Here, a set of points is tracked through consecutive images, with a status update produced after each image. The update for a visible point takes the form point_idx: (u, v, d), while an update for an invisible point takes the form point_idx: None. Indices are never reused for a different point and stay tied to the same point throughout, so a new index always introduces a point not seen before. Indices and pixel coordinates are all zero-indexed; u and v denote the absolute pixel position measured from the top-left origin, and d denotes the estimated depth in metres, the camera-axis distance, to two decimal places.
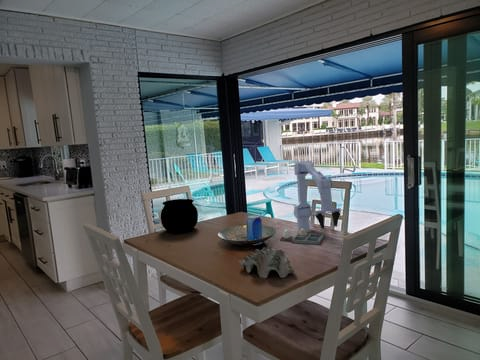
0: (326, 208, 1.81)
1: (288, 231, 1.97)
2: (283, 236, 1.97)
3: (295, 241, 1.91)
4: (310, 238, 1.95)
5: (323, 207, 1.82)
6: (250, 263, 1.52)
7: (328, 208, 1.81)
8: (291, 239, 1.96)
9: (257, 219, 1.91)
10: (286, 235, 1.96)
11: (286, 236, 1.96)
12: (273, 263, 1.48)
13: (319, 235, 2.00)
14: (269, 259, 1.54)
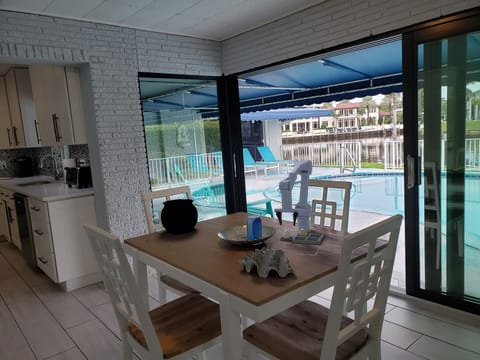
0: (283, 208, 1.94)
1: (288, 231, 1.97)
2: (283, 236, 1.97)
3: (295, 241, 1.91)
4: (310, 238, 1.95)
5: None
6: (250, 263, 1.52)
7: (284, 208, 1.93)
8: (291, 239, 1.96)
9: (257, 219, 1.91)
10: (286, 235, 1.96)
11: (286, 236, 1.96)
12: (273, 263, 1.48)
13: (319, 235, 2.00)
14: (269, 259, 1.54)
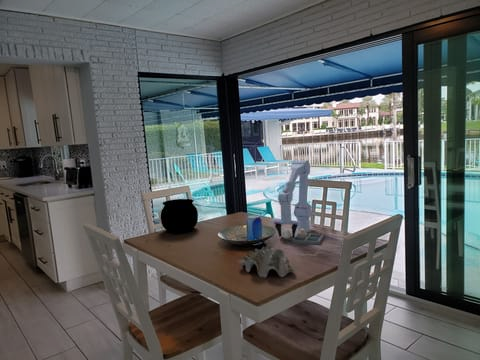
0: (282, 220, 1.96)
1: (288, 231, 1.97)
2: (283, 236, 1.97)
3: (295, 241, 1.91)
4: (310, 238, 1.95)
5: (281, 218, 1.97)
6: (250, 263, 1.53)
7: (283, 220, 1.95)
8: (291, 239, 1.96)
9: (257, 219, 1.91)
10: (286, 235, 1.96)
11: (286, 236, 1.96)
12: (272, 262, 1.49)
13: (319, 235, 2.00)
14: (268, 259, 1.55)
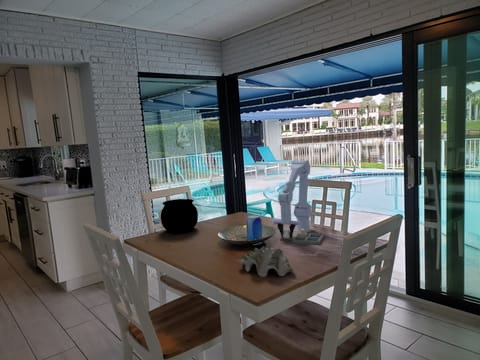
0: (282, 220, 1.96)
1: (288, 231, 1.97)
2: (283, 236, 1.97)
3: (295, 241, 1.91)
4: (310, 238, 1.95)
5: (281, 218, 1.97)
6: (249, 262, 1.53)
7: (283, 220, 1.95)
8: (291, 239, 1.96)
9: (257, 219, 1.91)
10: (286, 235, 1.96)
11: (286, 236, 1.96)
12: (272, 262, 1.50)
13: (319, 235, 2.00)
14: (268, 258, 1.55)
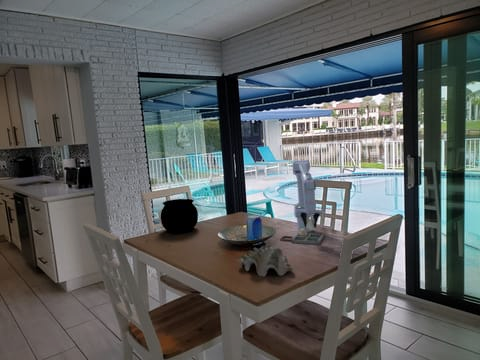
0: (305, 209, 1.88)
1: (312, 221, 1.89)
2: (307, 226, 1.90)
3: (295, 241, 1.91)
4: (310, 238, 1.95)
5: (304, 207, 1.90)
6: (249, 262, 1.54)
7: (307, 209, 1.87)
8: (291, 239, 1.96)
9: (257, 219, 1.91)
10: (310, 225, 1.88)
11: (310, 226, 1.88)
12: (271, 261, 1.50)
13: (319, 235, 2.00)
14: (267, 257, 1.56)
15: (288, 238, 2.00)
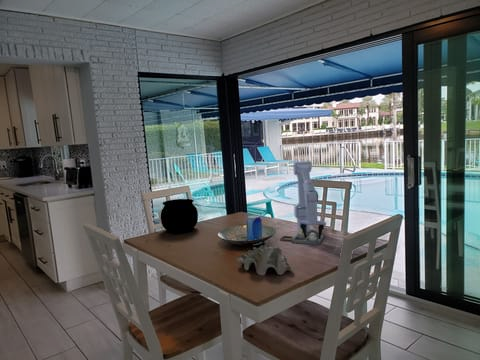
0: (308, 220, 1.88)
1: (314, 234, 1.89)
2: (309, 239, 1.90)
3: (295, 241, 1.91)
4: None
5: (306, 219, 1.90)
6: (248, 261, 1.55)
7: (309, 221, 1.88)
8: (291, 239, 1.96)
9: (257, 219, 1.91)
10: (312, 238, 1.89)
11: (312, 239, 1.89)
12: (271, 260, 1.51)
13: None
14: (267, 257, 1.57)
15: (288, 238, 2.00)
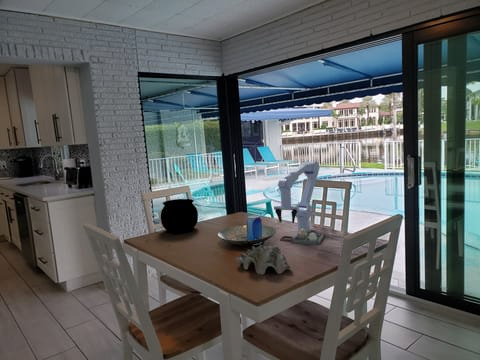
0: (282, 205, 2.01)
1: (314, 234, 1.89)
2: (309, 239, 1.90)
3: (295, 241, 1.91)
4: None
5: (281, 204, 2.03)
6: (247, 260, 1.56)
7: (283, 206, 2.00)
8: (291, 239, 1.96)
9: (257, 219, 1.91)
10: (312, 238, 1.89)
11: (312, 239, 1.89)
12: (270, 260, 1.52)
13: (319, 235, 2.00)
14: (266, 256, 1.58)
15: (288, 238, 2.00)
